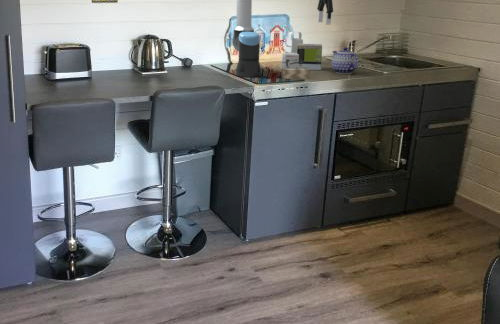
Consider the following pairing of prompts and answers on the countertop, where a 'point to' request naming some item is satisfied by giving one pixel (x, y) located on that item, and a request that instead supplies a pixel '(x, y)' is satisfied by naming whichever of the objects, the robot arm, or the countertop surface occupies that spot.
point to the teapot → (344, 61)
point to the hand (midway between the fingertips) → (324, 23)
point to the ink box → (290, 61)
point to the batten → (296, 73)
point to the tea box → (309, 56)
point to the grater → (293, 43)
